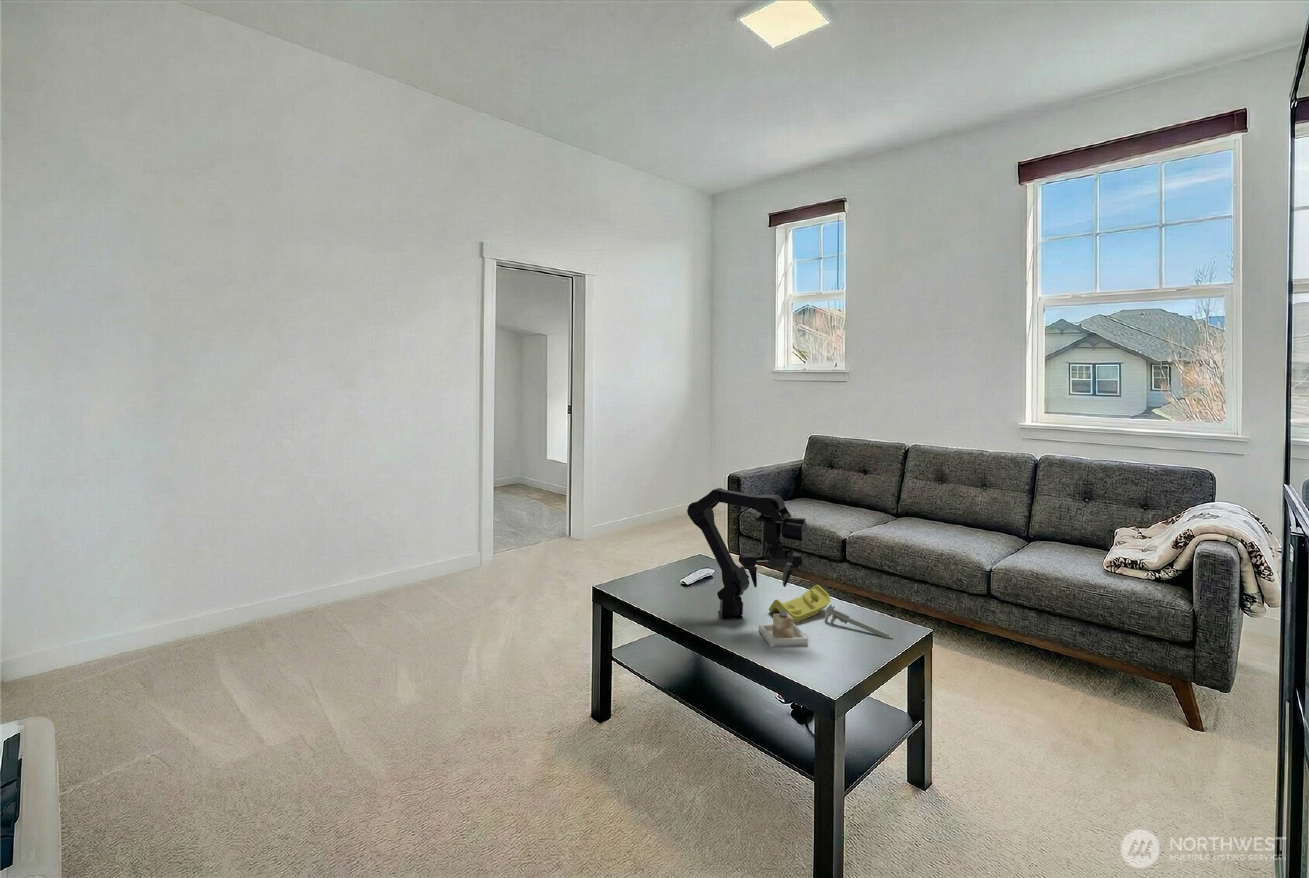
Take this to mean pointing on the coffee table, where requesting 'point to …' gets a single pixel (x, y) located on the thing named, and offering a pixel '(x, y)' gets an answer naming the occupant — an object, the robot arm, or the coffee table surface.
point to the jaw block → (782, 625)
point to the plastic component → (803, 604)
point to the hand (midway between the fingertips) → (769, 586)
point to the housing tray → (797, 639)
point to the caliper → (852, 621)
